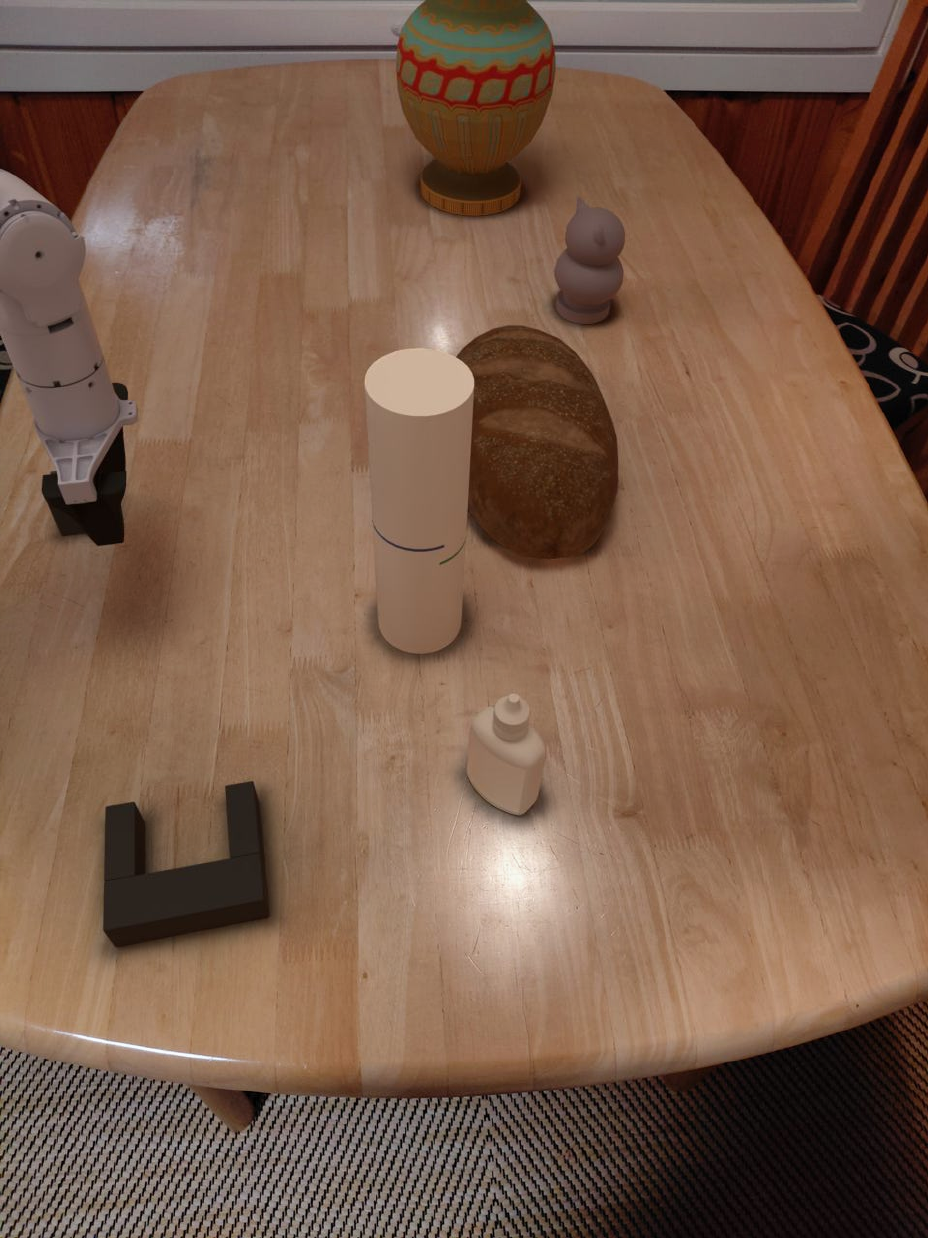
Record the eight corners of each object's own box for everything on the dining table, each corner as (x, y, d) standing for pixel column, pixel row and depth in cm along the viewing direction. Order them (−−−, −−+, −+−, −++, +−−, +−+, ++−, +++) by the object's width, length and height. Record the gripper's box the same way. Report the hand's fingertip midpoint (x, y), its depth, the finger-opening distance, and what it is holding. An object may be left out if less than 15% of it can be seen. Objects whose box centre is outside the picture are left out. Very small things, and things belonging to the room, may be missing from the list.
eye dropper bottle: (487, 828, 68) (498, 742, 59) (461, 764, 71) (467, 673, 62) (542, 810, 69) (561, 723, 60) (514, 748, 72) (528, 656, 63)
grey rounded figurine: (627, 324, 109) (647, 227, 100) (564, 333, 107) (578, 235, 98) (600, 285, 114) (617, 188, 105) (540, 293, 112) (551, 195, 103)
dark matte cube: (61, 536, 85) (47, 504, 82) (63, 502, 87) (50, 470, 84) (111, 529, 85) (99, 498, 82) (111, 497, 88) (100, 465, 85)
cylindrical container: (369, 598, 81) (353, 357, 62) (447, 581, 83) (455, 341, 63) (390, 662, 77) (379, 424, 58) (472, 643, 79) (488, 405, 59)
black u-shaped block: (114, 947, 62) (102, 931, 59) (116, 825, 67) (105, 806, 65) (269, 917, 63) (264, 899, 61) (258, 800, 69) (253, 780, 67)
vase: (546, 163, 134) (572, -93, 110) (538, 234, 121) (566, -37, 98) (409, 151, 134) (406, -105, 111) (387, 220, 122) (379, -52, 99)
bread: (469, 578, 83) (475, 484, 74) (427, 377, 101) (428, 282, 92) (637, 563, 85) (662, 469, 76) (567, 368, 103) (581, 275, 94)
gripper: (118, 424, 59) (164, 567, 70) (122, 296, 68) (162, 441, 78) (1, 436, 58) (66, 579, 69) (20, 305, 67) (75, 450, 77)
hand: (111, 506), depth 73 cm, fingers open, 7 cm apart
